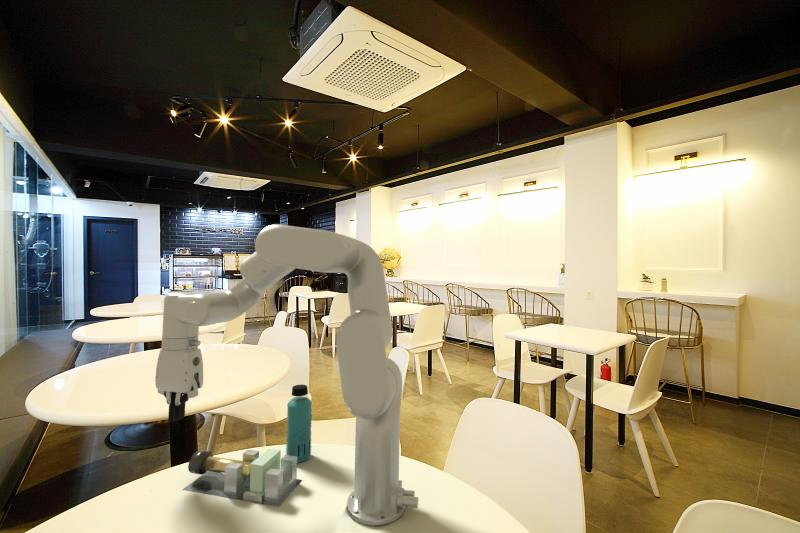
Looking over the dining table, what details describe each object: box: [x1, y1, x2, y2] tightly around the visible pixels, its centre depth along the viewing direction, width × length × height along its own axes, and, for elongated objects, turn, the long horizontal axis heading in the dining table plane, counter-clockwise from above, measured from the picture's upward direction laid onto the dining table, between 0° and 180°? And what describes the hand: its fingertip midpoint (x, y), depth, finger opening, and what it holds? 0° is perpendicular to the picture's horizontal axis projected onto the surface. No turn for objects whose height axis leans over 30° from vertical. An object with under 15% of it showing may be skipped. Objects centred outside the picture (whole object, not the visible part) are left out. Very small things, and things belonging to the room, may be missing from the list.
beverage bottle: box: [285, 384, 313, 464], centre depth 94 cm, size 6×7×20 cm
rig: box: [182, 449, 303, 508], centre depth 81 cm, size 24×10×7 cm, turn 77°
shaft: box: [187, 449, 252, 478], centre depth 83 cm, size 15×5×5 cm, turn 77°
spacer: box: [250, 448, 282, 496], centre depth 80 cm, size 3×7×7 cm, turn 167°
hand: (176, 419), depth 86 cm, fingers closed
